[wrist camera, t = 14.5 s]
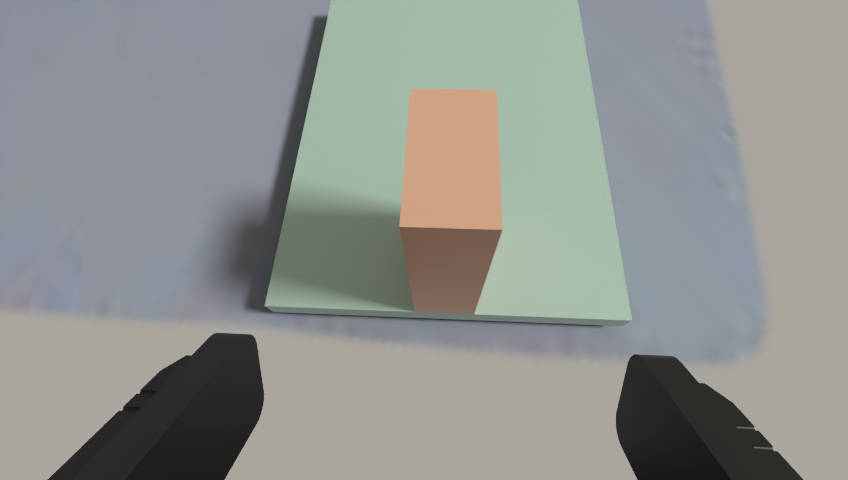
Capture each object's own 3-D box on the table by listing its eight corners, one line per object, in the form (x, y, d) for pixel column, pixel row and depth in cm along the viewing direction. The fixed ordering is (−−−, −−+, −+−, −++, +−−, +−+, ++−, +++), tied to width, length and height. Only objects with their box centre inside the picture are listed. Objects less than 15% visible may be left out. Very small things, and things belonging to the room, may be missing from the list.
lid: (612, 331, 15) (782, 238, 8) (280, 317, 15) (141, 219, 8) (567, 25, 22) (633, -177, 14) (339, 23, 22) (292, -172, 15)
